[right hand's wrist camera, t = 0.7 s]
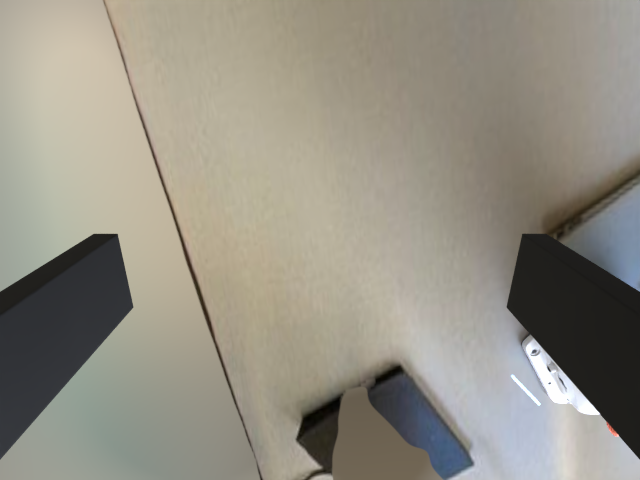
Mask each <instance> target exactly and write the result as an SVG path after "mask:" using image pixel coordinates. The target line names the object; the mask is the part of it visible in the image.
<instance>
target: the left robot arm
mask: <svg viewBox="0 0 640 480" xmlns="http://www.w3.org/2000/svg"><path fill="white" fill-rule="evenodd" d="M522 347H523V349H524V351H525V353H526V355H527V357H528V359H529V361H530V362H531V364H532V366H533V368H534V370H535V372H536V374H537V376H538V378H539V379H540V381H541V383H542V385H543V387H544V389H545V391H546V393H547V394H548V396H549V398H550V399H551V400H552V401H553V402H557V403H571V404H572V405H573V406H574V407H575V408H576V409H577V410H578V411H579V412H581V413H584V414H593V415H594V414H600V413H599V412H598V411H597V410H596V409H595V408H594V407H593V405H592V404H591V403H590V402H589V401H588V400H587V399H586V397H585V396H584V395H583V394H582V393H581V392H580V391H579V389H578V388H577V387H576V386H575V385H574V384H573V383H572V381H571V380H570V379H569V378H568V377H567V376H566V375H565V373H564V372H563V371H562V370H561V369H560V368H559V367H558V365H557V364H556V363H555V362H554V361H553V360H552V359H551V357H550V356H549V355H548V354H547V353H546V352H545V351H544V349H543V348H542V347H541V346H540V345H539V344H538V343H537V341H536V340H535V339H534V338H533V337H532V336H531V335H529V336H528V337H527V338H526V339H525V340H524V341H523V343H522ZM532 350H533V351H532ZM511 377H512V378H513V379H514V380H515V381H516V382H517V383H518V384H519V385H520V386H521V387H522V389H523V390H524V391H525V392H526V393H527V394H528V395H529V396H530V397H531V398H532V399H533V400H534V401H535V402H536V403H537V404H538V405H540V403H539V402H538V400H537V399H536V398H535V397H534V396H533V395H532V394H531V393H530V392H529V391H528V390H527V389H526V388H525V387H524V386H523V385H522V384H521V383H520V382H519V381H518V380H517V379H516V378H515V377H514V376H513V375H512V376H511ZM607 426H608V428H609V430H610V431H611V433H612V434H613V435H614V436H619V435H618V434H617V433H616V432H615V431H614V429H613V428H612V427H611V426H610V425H609V424H608V423H607Z"/></svg>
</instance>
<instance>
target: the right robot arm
mask: <svg viewBox="0 0 640 480" xmlns="http://www.w3.org/2000/svg"><path fill="white" fill-rule="evenodd" d="M132 308H133V303H132V299H131V294H130V289H129V285H128V280H127V276H126V271H125V266H124V262H123V257H122V252H121V248H120V243H119V239H118V234H93V235H91V236H90V237H88V238H86V239H85V240H83V241H82V242H80V243H78V244H77V245H75V246H74V247H72V248H70V249H69V250H67V251H66V252H64V253H62V254H61V255H59V256H57V257H56V258H54V259H53V260H51V261H49V262H48V263H46V264H45V265H43V266H41V267H40V268H38V269H36V270H35V271H33V272H32V273H30V274H28V275H27V276H25V277H23V278H22V279H20V280H19V281H17V282H15V283H14V284H12V285H11V286H9V287H7V288H6V289H4V290H2V291H1V292H0V459H1V458H2V457H3V456H4V455H5V453H6V452H7V451H8V450H9V449H10V448H11V446H12V445H13V444H14V443H15V442H16V441H17V440H18V439H19V437H20V436H21V435H22V434H23V433H24V432H25V430H26V429H27V428H28V427H29V426H30V425H31V424H32V423H33V421H34V420H35V419H36V418H37V417H38V416H39V414H40V413H41V412H42V411H43V410H44V409H45V408H46V407H47V405H48V404H49V403H50V402H51V401H52V400H53V399H54V397H55V396H56V395H57V394H58V393H59V392H60V391H61V389H62V388H63V387H64V386H65V385H66V384H67V382H68V381H69V380H70V379H71V378H72V377H73V376H74V374H75V373H76V372H77V371H78V370H79V369H80V368H81V367H82V365H83V364H84V363H85V362H86V361H87V360H88V359H89V357H90V356H91V355H92V354H93V353H94V352H95V351H96V349H97V348H98V347H99V346H100V345H101V344H102V343H103V341H104V340H105V339H106V338H107V337H108V336H109V335H110V333H111V332H112V331H113V330H114V329H115V328H116V327H117V325H118V324H119V323H120V322H121V321H122V320H123V319H124V317H125V316H126V315H127V314H128V313H129V312H130V311H131V309H132ZM507 308H508V309H509V311H510V312H511V313H512V314H513V315H514V316H515V317H516V319H517V320H518V321H519V322H520V323H521V324H522V325H523V327H524V328H525V329H526V330H527V331H528V332H529V333H530V335H531V336H532V337H533V338H534V339H535V340H536V341H537V343H538V344H539V345H540V346H541V347H542V348H543V349H544V351H545V352H546V353H547V354H548V355H549V356H550V357H551V359H552V360H553V361H554V362H555V363H556V364H557V365H558V367H559V368H560V369H561V370H562V371H563V372H564V373H565V375H566V376H567V377H568V378H569V379H570V380H571V381H572V383H573V384H574V385H575V386H576V387H577V388H578V389H579V391H580V392H581V393H582V394H583V395H584V396H585V397H586V399H587V400H588V401H589V402H590V403H591V404H592V405H593V407H594V408H595V409H596V410H597V411H598V412H599V413H600V415H601V416H602V417H603V418H604V419H605V420H606V421H607V423H608V424H609V425H610V426H611V427H612V428H613V429H614V431H615V432H616V433H617V434H618V435H619V436H620V437H621V439H622V440H623V441H624V442H625V443H626V444H627V445H628V447H629V448H630V449H631V450H632V451H633V452H634V453H635V455H636V456H637V457H638V458H639V459H640V292H639V291H638V290H636V289H634V288H633V287H631V286H629V285H628V284H626V283H625V282H623V281H621V280H620V279H618V278H617V277H615V276H613V275H612V274H610V273H608V272H607V271H605V270H604V269H602V268H600V267H599V266H597V265H596V264H594V263H592V262H591V261H589V260H587V259H586V258H584V257H583V256H581V255H579V254H578V253H576V252H575V251H573V250H571V249H570V248H568V247H566V246H565V245H563V244H562V243H560V242H558V241H557V240H555V239H554V238H552V237H550V236H549V235H547V234H522V238H521V243H520V248H519V252H518V257H517V262H516V266H515V271H514V276H513V280H512V285H511V289H510V294H509V299H508V303H507Z"/></svg>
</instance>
